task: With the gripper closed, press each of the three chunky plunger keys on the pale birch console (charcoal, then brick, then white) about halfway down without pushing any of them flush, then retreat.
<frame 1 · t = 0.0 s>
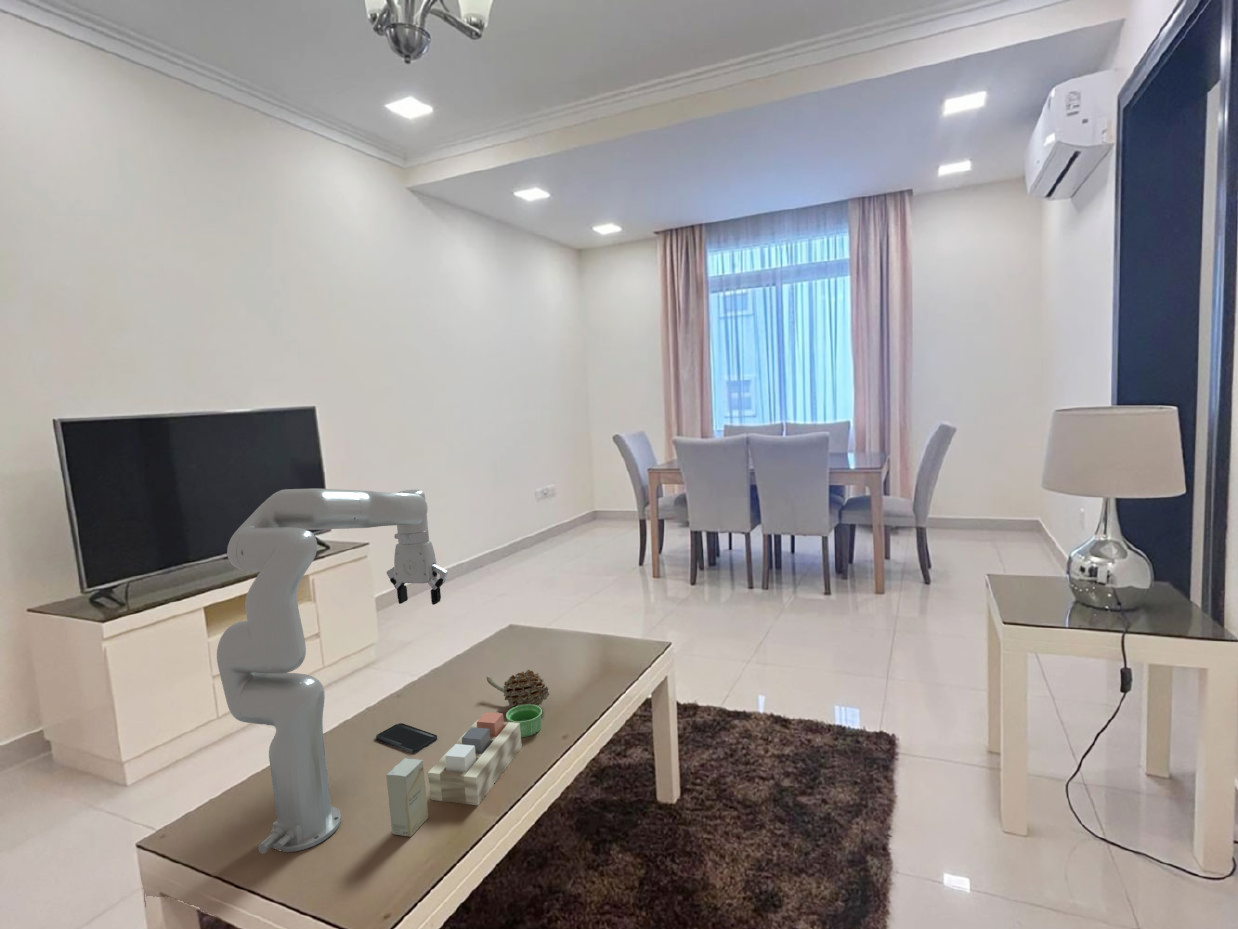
hand: (419, 602, 164), 31 cm above the table, fingers open, 9 cm apart
white key: (461, 762, 133), point 6 cm above the table, slide at 0.0 cm
pine cone: (515, 704, 172), on the table
phone: (406, 741, 157), on the table
charcoal key: (476, 745, 140), point 6 cm above the table, slide at 0.0 cm
skincare box: (410, 826, 123), on the table
ramekin: (525, 730, 158), on the table
brick key: (490, 728, 147), point 6 cm above the table, slide at 0.0 cm
console: (479, 771, 140), on the table
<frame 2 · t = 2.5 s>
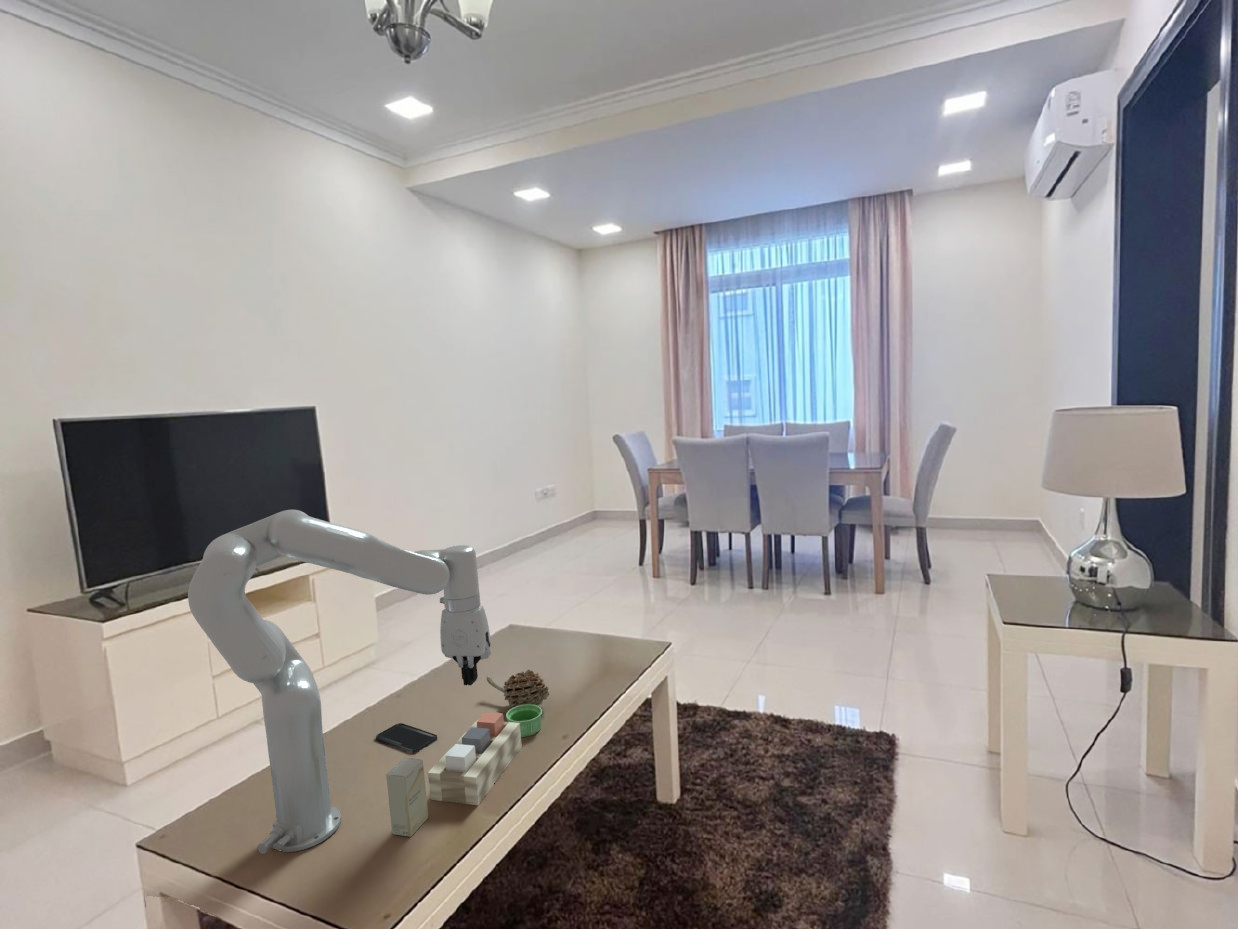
hand: (470, 682, 140), 20 cm above the table, fingers closed
nothing on the table moved.
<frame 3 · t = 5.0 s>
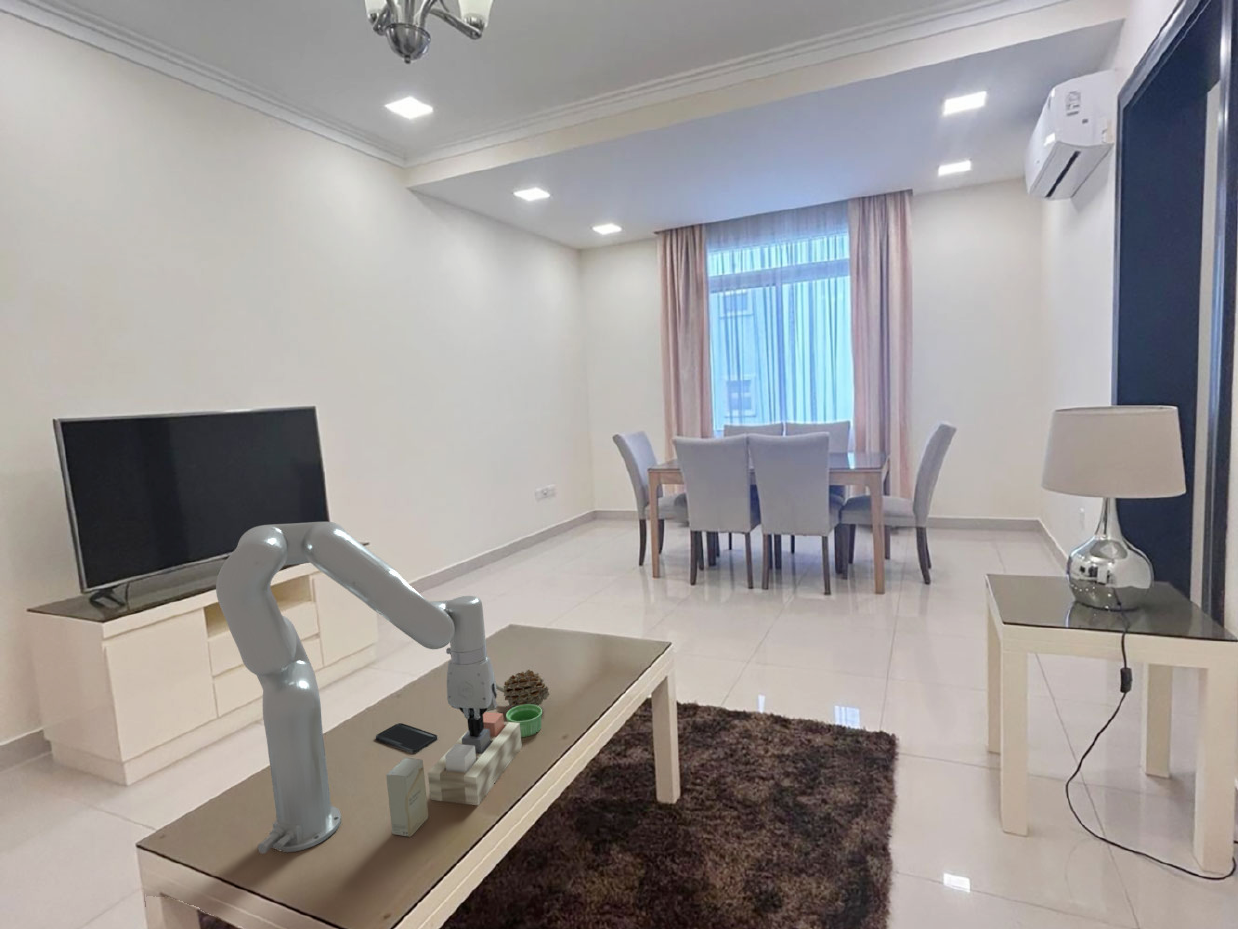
hand: (476, 733, 140), 9 cm above the table, fingers closed
charcoal key: (476, 745, 140), point 6 cm above the table, slide at 0.1 cm, touching gripper
everything else where it was.
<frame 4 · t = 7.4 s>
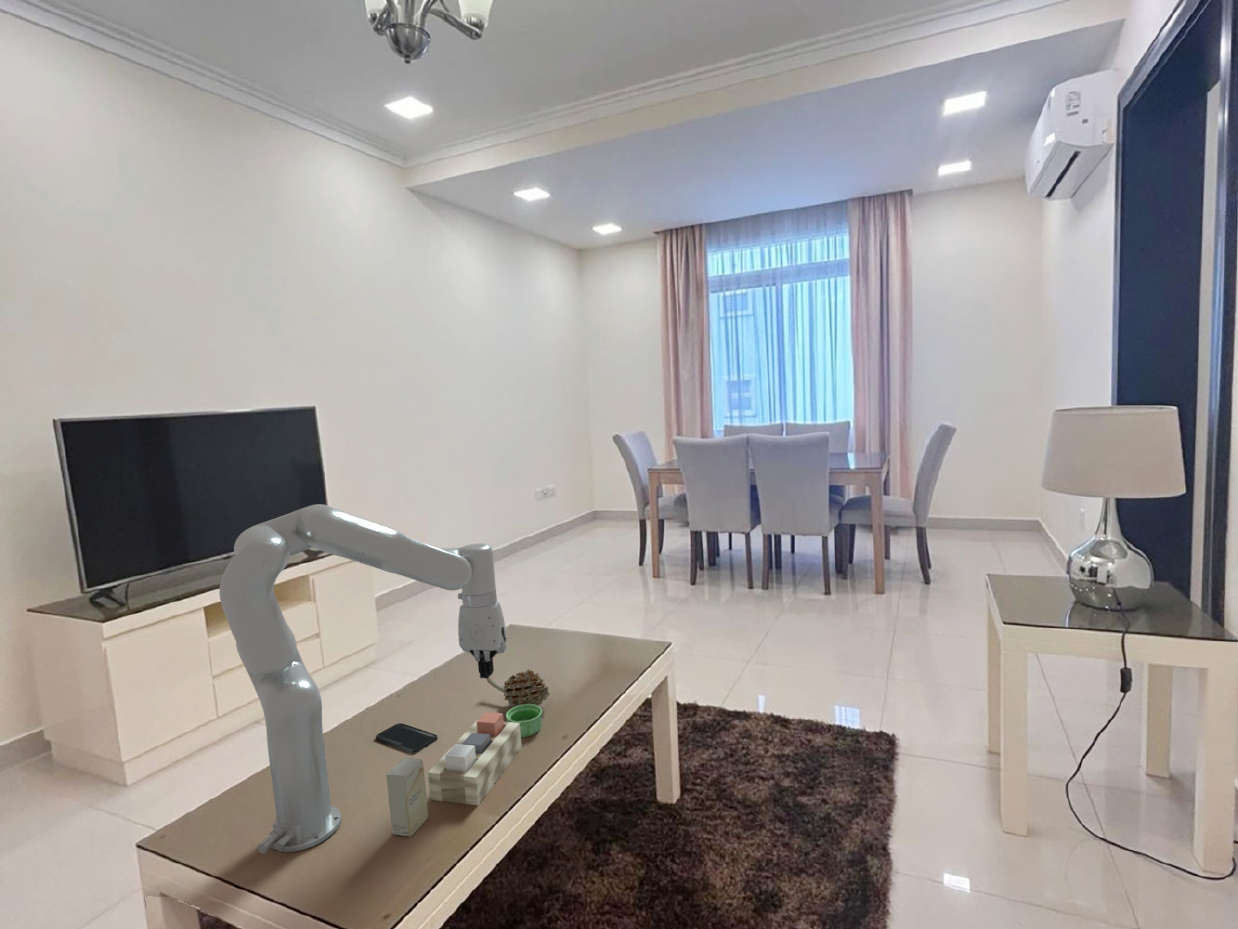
hand: (486, 675, 145), 19 cm above the table, fingers closed
charcoal key: (477, 750, 140), point 5 cm above the table, slide at 1.3 cm
everything else where it was.
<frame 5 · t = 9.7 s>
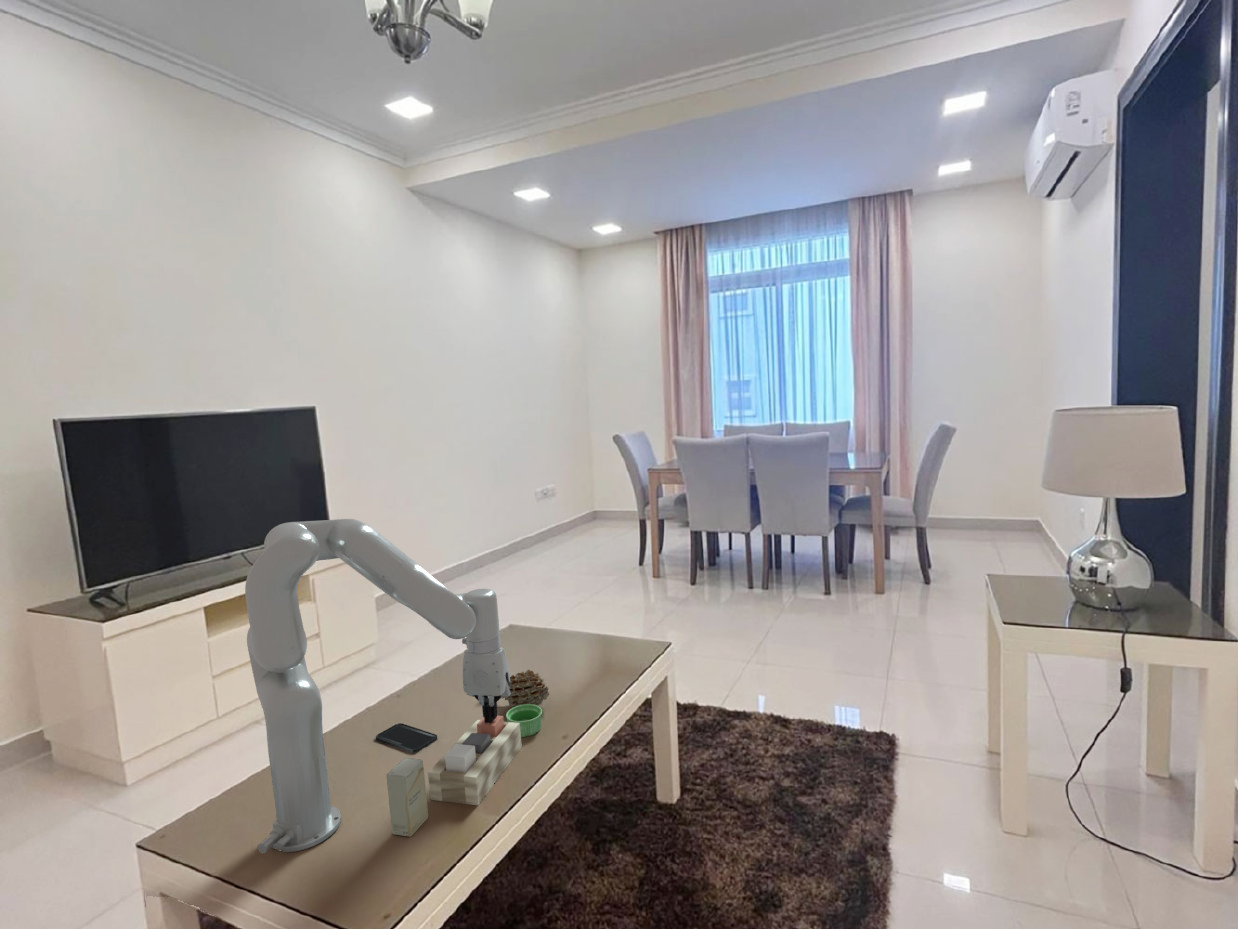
hand: (490, 719, 146), 8 cm above the table, fingers closed
brick key: (491, 731, 147), point 6 cm above the table, slide at 0.6 cm, touching gripper
everything else where it was.
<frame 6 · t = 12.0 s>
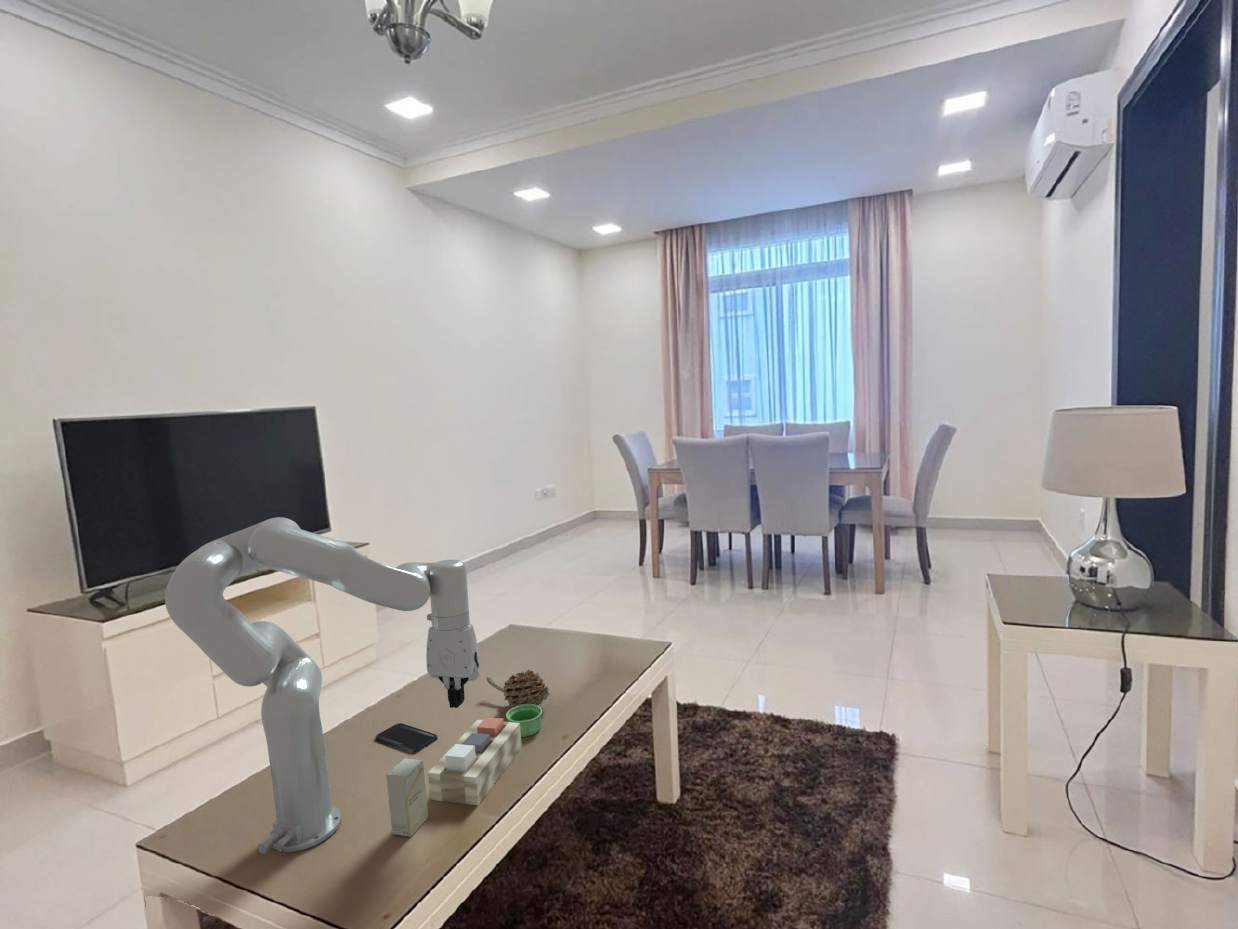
hand: (456, 704, 133), 19 cm above the table, fingers closed
brick key: (491, 734, 147), point 5 cm above the table, slide at 1.3 cm
everything else where it was.
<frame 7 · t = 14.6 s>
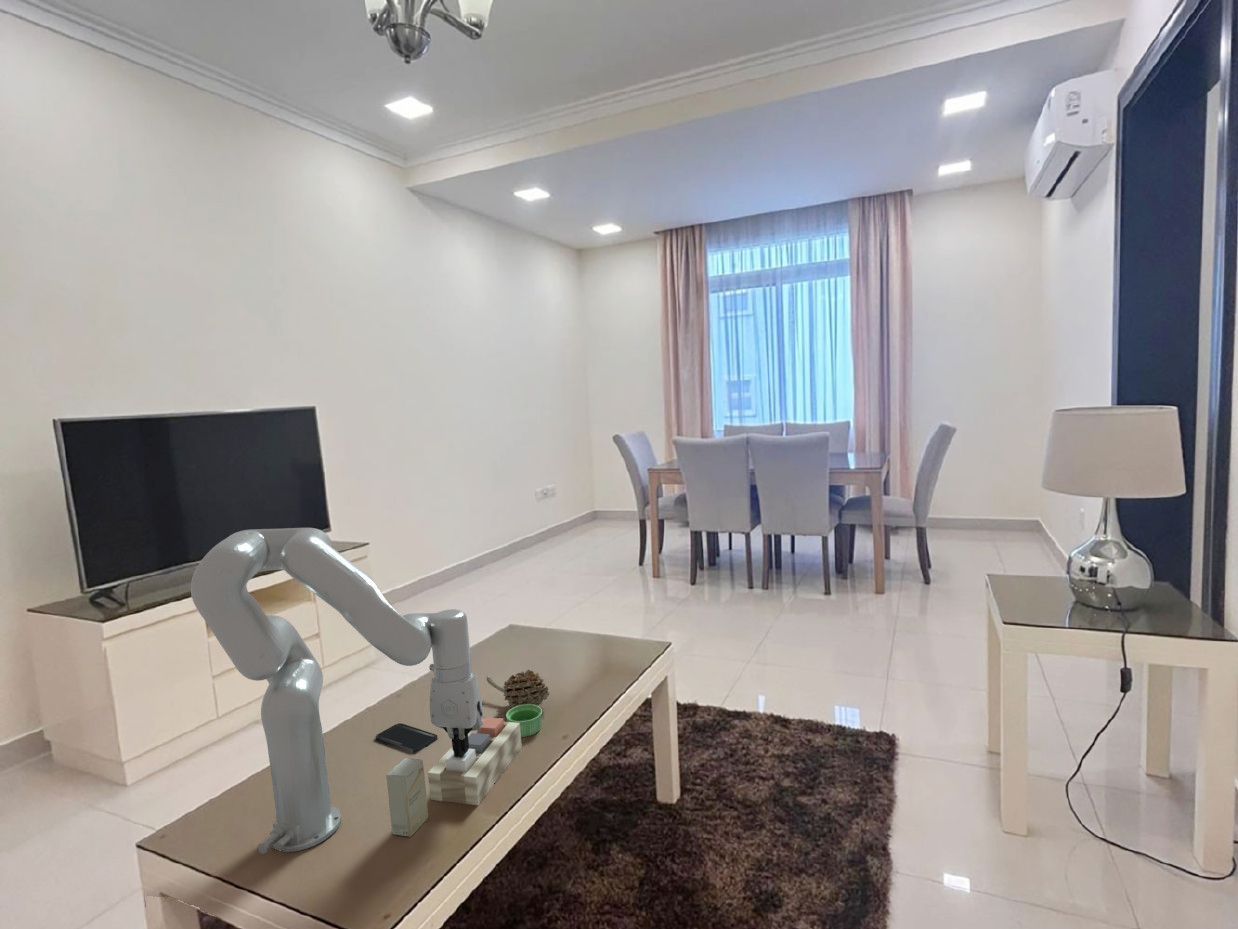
hand: (461, 753, 133), 8 cm above the table, fingers closed
white key: (461, 766, 133), point 5 cm above the table, slide at 0.8 cm, touching gripper
everything else where it was.
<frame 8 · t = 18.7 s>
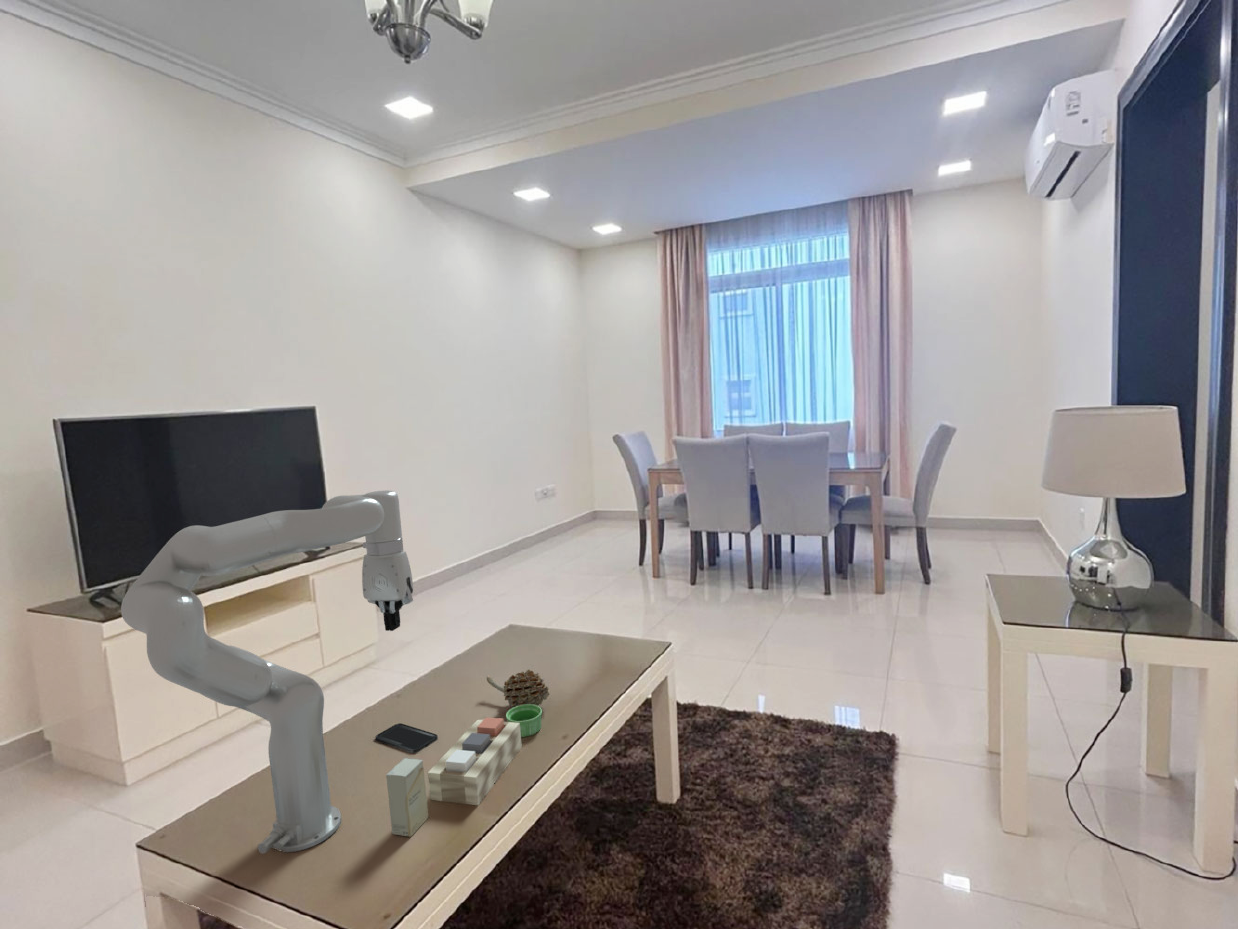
hand: (392, 628, 140), 33 cm above the table, fingers closed
white key: (461, 768, 133), point 5 cm above the table, slide at 1.3 cm
everything else where it was.
at the end: charcoal key slide at 1.3 cm; brick key slide at 1.3 cm; white key slide at 1.3 cm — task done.
